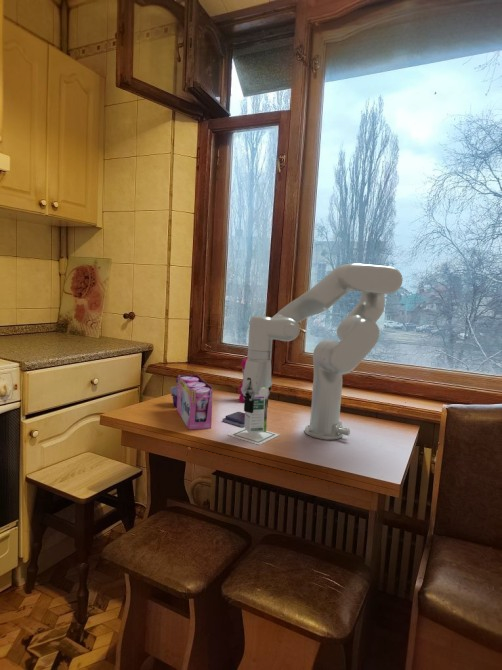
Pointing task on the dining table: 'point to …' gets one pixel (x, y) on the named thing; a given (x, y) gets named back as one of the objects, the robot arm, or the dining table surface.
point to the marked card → (254, 436)
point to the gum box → (194, 401)
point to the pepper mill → (242, 381)
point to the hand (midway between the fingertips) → (256, 409)
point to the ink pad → (235, 419)
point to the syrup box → (257, 412)
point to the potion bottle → (174, 393)
